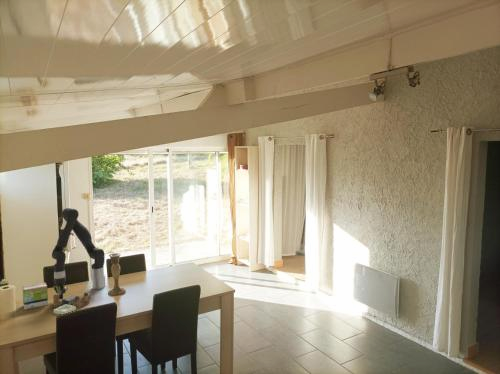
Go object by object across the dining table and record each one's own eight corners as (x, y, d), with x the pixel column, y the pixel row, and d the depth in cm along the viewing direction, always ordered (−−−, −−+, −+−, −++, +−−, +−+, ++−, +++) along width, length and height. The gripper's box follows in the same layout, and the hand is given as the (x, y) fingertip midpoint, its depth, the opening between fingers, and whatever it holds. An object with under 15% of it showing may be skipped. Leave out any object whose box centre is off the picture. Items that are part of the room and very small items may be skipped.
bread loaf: (57, 306, 265) (56, 294, 264) (60, 306, 263) (60, 294, 263) (52, 308, 262) (52, 295, 261) (56, 308, 260) (55, 296, 259)
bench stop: (87, 301, 272) (86, 291, 272) (90, 302, 271) (89, 292, 270) (73, 307, 261) (73, 297, 261) (76, 308, 260) (76, 297, 259)
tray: (66, 307, 262) (65, 304, 261) (76, 310, 258) (75, 306, 257) (53, 313, 252) (53, 309, 252) (64, 315, 248) (63, 311, 248)
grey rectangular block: (71, 300, 277) (71, 295, 276) (79, 301, 275) (78, 296, 274) (61, 305, 267) (61, 300, 267) (69, 306, 265) (68, 301, 265)
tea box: (24, 310, 258) (23, 290, 257) (23, 305, 266) (22, 286, 265) (48, 305, 267) (47, 285, 266) (46, 300, 275) (45, 281, 274)
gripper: (70, 276, 274) (71, 298, 275) (58, 274, 279) (59, 295, 281) (61, 279, 267) (62, 302, 269) (49, 277, 272) (50, 299, 274)
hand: (61, 298), depth 275 cm, fingers closed
